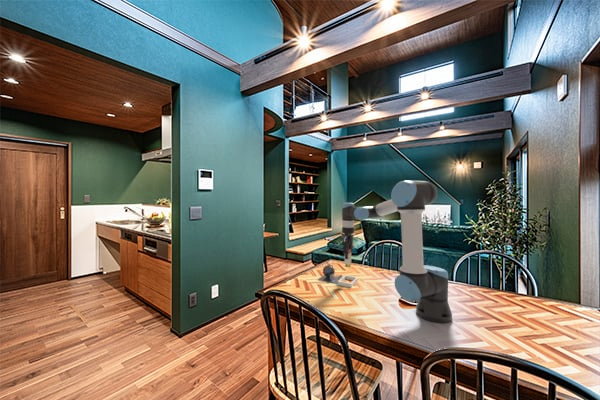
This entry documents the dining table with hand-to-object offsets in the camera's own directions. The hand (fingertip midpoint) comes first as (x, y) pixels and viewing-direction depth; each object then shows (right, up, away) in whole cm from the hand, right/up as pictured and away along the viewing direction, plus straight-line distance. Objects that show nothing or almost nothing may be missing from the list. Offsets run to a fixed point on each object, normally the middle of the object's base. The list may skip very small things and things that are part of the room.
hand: (347, 262), depth 155 cm
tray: (0, -14, 0) cm, 14 cm away
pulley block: (-10, -14, +7) cm, 18 cm away
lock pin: (0, -2, 0) cm, 2 cm away
